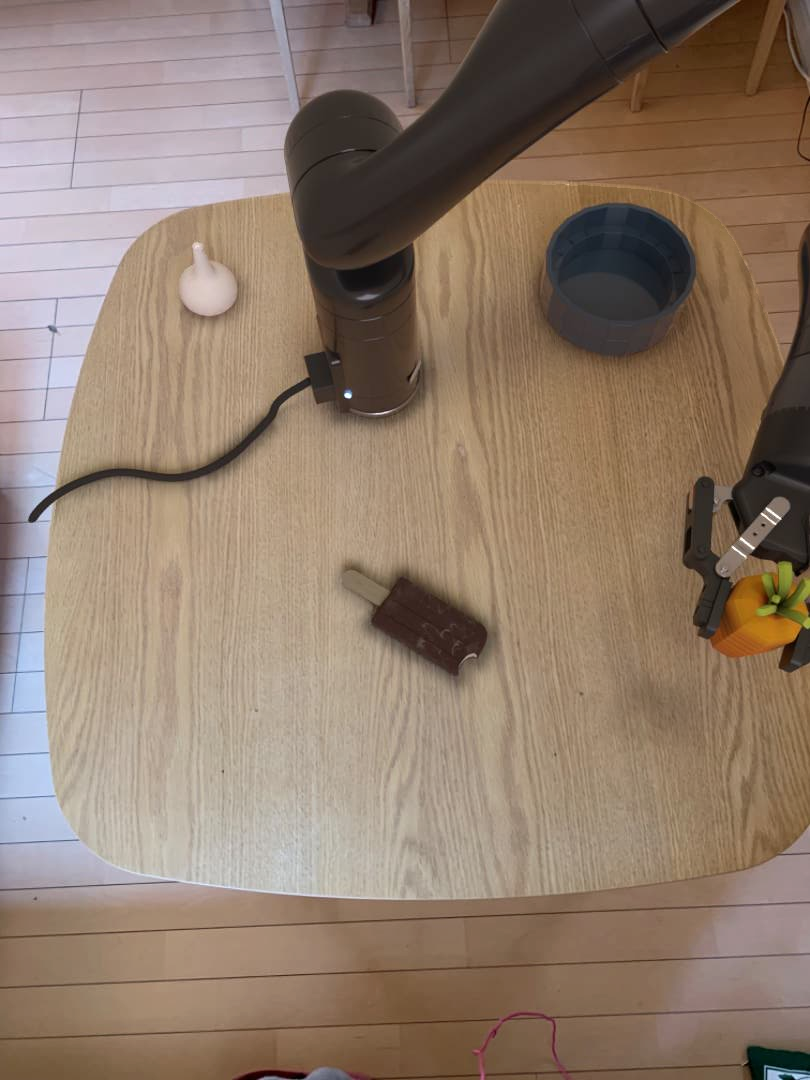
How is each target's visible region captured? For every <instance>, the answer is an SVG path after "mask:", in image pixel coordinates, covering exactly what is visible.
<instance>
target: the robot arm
mask: <svg viewBox="0 0 810 1080" xmlns="http://www.w3.org/2000/svg"><path fill="white" fill-rule="evenodd" d="M739 2H741V0H497V1H496V3H495V4H494V6H493V8H492V10H491V11H490V13H489V14H488V16H487V18H486V19H485V22H484V23H483V25H482V27H481V28H480V30H479V31H478V34H477V35H476V37H475V39H474V41H472V44H471V46H470V47H469V50H468V51H467V53H466V55H465V56H464V58H463V60H462V61H461V63H460V65H459V67H458V68H457V69H456V71H455V73H454V75H453V76H452V78H451V79H450V81H449V82H448V84H447V85H446V86H445V87H444V88H443V91H442V92H441V93H440V95H439V96H437V98H436V99H435V100H434V101H433V102H432V103H431V104H430V106H429V107H428V108H427V109H426V110H425V111H424V112H423V113H421V115H419V116H418V117H417V118H416V119H415V120H414V121H413V122H411V123H410V124H409V125H408V126H407V127H405V128H403V125H402V123H401V122H400V121H401V120H400V119H399V117H398V116H397V115H396V113H395V112H394V110H393V109H392V108H390V106H389V105H387V103H386V102H384V101H383V100H382V99H380V98H379V97H377V96H375V95H373V94H371V93H369V92H366V91H363V90H358V89H352V88H341V89H334V90H329V91H327V92H323V93H321V94H319V95H317V96H316V97H314V98H312V99H311V100H309V101H308V102H306V103H305V104H304V105H303V106H302V107H300V109H299V110H298V112H296V114H295V115H294V117H293V119H292V120H291V122H290V124H289V125H288V128H287V131H286V134H285V138H284V142H283V143H284V144H283V158H284V164H285V165H284V166H285V171H286V176H287V177H286V178H287V182H288V188H289V189H288V190H289V195H290V201H291V206H292V213H293V218H294V223H295V227H296V231H297V234H298V237H299V240H300V242H301V247H302V251H303V258H304V263H305V268H306V272H307V276H308V280H309V286H310V289H311V293H312V298H313V302H314V307H315V312H316V315H315V318H316V321H317V326H318V327H317V328H318V331H319V337H320V341H321V345H322V349H323V351H319V352H318V351H317V352H314V353H310V354H306V355H303V358H304V363H305V366H306V370H307V374H308V376H307V377H306V378H304V379H302V380H300V381H299V382H297V383H296V384H294V385H292V386H290V387H289V388H287V389H286V390H284V391H283V392H282V393H280V394H279V395H278V396H277V397H276V398H275V399H274V400H273V401H272V403H271V404H270V407H269V410H268V412H267V414H266V415H265V417H264V418H263V419H262V420H260V422H259V423H258V424H257V425H256V426H255V428H254V429H253V430H252V431H251V432H249V434H248V435H247V436H245V438H244V439H242V441H240V442H239V444H237V446H235V447H234V448H233V449H232V450H230V451H229V452H227V453H226V454H224V455H223V456H222V457H219V458H218V459H215V461H212V462H210V463H209V464H206V465H204V466H202V467H199V468H196V469H193V470H190V471H186V472H179V473H163V472H155V471H150V470H143V469H137V468H128V467H116V468H107V469H103V470H99V471H95V472H92V473H88V474H86V475H83V476H80V477H78V478H76V479H73V480H71V481H70V482H68V483H65V484H63V485H62V486H60V487H58V488H56V489H55V490H54V491H52V492H51V493H49V494H48V495H47V496H45V497H44V498H43V499H42V500H41V501H40V502H39V503H38V504H37V505H36V506H35V507H34V508H33V509H32V511H31V512H30V513H29V515H28V517H27V518H28V519H27V522H28V523H29V524H33V523H35V522H36V521H38V520H39V518H40V516H41V515H42V514H43V513H44V512H45V511H46V510H47V509H48V508H49V507H50V506H51V505H52V504H54V503H55V502H57V501H58V500H59V499H61V498H62V497H63V496H65V495H67V494H68V493H70V492H72V491H74V490H76V489H79V488H81V487H83V486H86V485H89V484H92V483H94V482H97V481H100V480H104V479H108V478H116V477H127V478H128V477H129V478H139V479H145V480H150V481H156V482H163V483H164V482H165V483H180V482H186V481H191V480H195V479H198V478H201V477H204V476H206V475H208V474H211V473H213V472H216V471H217V470H219V469H221V468H223V467H224V466H226V465H228V464H229V463H231V462H232V461H233V460H235V459H236V458H238V456H239V455H241V454H242V453H243V452H245V450H246V449H247V448H248V447H249V446H250V445H251V444H252V443H253V442H254V441H255V440H257V439H258V438H259V436H260V435H261V434H262V433H264V431H265V430H266V429H267V428H268V426H270V425H271V423H272V422H273V421H274V420H275V419H276V417H277V415H278V412H279V410H280V408H281V406H282V405H283V404H284V403H285V402H286V401H287V400H289V399H290V398H291V397H293V396H295V395H296V394H298V393H300V392H302V391H304V390H305V389H307V388H309V387H311V391H312V394H313V397H314V401H315V405H321V404H324V403H329V402H334V401H335V402H336V406H337V409H338V412H339V413H340V414H346V413H351V414H354V415H357V416H359V417H363V418H368V419H369V418H370V419H378V418H385V417H389V416H393V415H394V414H396V413H398V412H400V411H402V410H404V409H405V408H406V407H407V406H408V405H410V403H411V402H412V401H413V400H414V398H415V397H416V394H417V393H418V391H419V388H420V380H421V371H420V367H421V365H422V359H421V358H420V359H419V336H418V309H417V277H416V274H417V273H416V271H417V270H416V250H415V244H414V241H416V240H417V239H418V238H420V237H421V236H422V235H423V234H424V233H426V232H427V231H428V230H429V229H430V228H432V227H433V226H434V225H435V224H436V223H438V222H439V221H440V220H441V219H442V218H443V217H444V216H446V215H447V214H448V213H449V212H450V211H452V210H453V209H454V208H455V207H457V205H459V204H460V203H461V202H462V201H463V200H464V199H466V198H467V197H468V196H469V195H470V194H472V193H473V192H474V191H475V190H476V189H477V188H478V187H480V186H481V185H482V184H484V183H485V182H486V181H487V180H489V179H490V178H492V177H493V176H494V175H495V174H496V173H497V172H498V171H500V170H501V169H502V168H504V167H505V166H506V165H508V164H509V163H510V162H511V161H513V160H514V159H516V158H517V157H518V156H520V155H521V154H523V153H524V152H525V151H527V150H528V149H529V148H531V147H533V145H535V144H536V143H538V142H539V141H540V140H542V139H543V138H545V137H546V136H547V135H549V134H550V133H551V132H553V131H554V130H556V129H557V128H558V127H560V126H561V125H563V124H564V123H565V122H567V121H568V120H569V119H571V118H572V117H574V116H575V115H577V114H578V113H579V112H581V111H583V110H584V109H585V108H587V107H589V106H590V105H592V104H593V103H595V102H596V101H598V100H599V99H601V98H602V97H604V96H605V95H607V94H609V93H610V92H612V91H614V90H615V89H617V88H618V87H620V86H621V85H623V84H624V83H626V82H628V81H629V80H631V79H633V77H635V76H636V75H638V74H639V73H641V72H642V71H643V70H645V69H647V68H648V67H649V66H651V65H653V64H654V63H655V62H656V61H658V60H659V59H661V58H662V57H664V56H665V55H667V54H668V52H671V51H672V50H674V49H676V47H678V46H680V45H681V44H682V43H683V42H685V41H686V40H687V39H689V38H690V37H692V36H693V35H694V34H695V33H697V32H698V31H699V30H701V29H702V28H703V27H704V26H706V25H707V24H709V23H710V22H712V21H714V20H715V19H716V18H718V17H719V16H720V15H722V14H723V13H724V12H726V11H727V10H729V9H730V8H732V7H733V6H735V5H736V4H737V3H739ZM796 269H797V283H798V284H797V285H798V297H799V298H798V300H799V301H798V307H799V308H798V314H797V315H798V316H797V320H796V321H797V322H796V325H795V330H794V334H793V337H792V341H791V344H790V347H789V350H788V352H787V355H786V358H785V362H784V365H783V367H782V370H781V372H780V374H779V377H778V379H777V380H776V383H775V385H774V387H773V388H772V390H771V393H770V395H769V398H768V400H767V403H766V405H765V407H764V408H763V410H762V412H761V415H760V418H759V419H760V423H759V426H758V429H757V432H756V434H755V438H754V442H753V444H752V447H751V450H750V453H749V456H748V459H747V461H746V465H745V467H744V470H743V474H742V476H741V478H740V480H739V481H738V482H736V483H735V484H734V485H733V486H728V485H722V484H715V481H714V479H712V478H711V477H709V476H707V475H703V476H700V477H698V478H697V480H696V481H695V483H693V486H692V487H691V488H690V489H689V491H688V492H687V494H686V501H685V514H684V517H685V518H684V531H683V544H682V560H681V561H682V564H683V566H684V567H685V568H687V569H688V570H694V571H695V572H696V573H698V575H700V577H701V578H702V583H703V584H702V588H701V590H700V591H701V592H700V594H699V597H698V600H697V601H696V605H695V608H694V612H693V615H692V625H693V626H695V627H698V630H697V632H696V633H697V634H696V636H698V637H700V638H702V639H704V640H706V641H707V640H710V638H711V637H712V636H714V635H715V633H716V631H717V629H718V627H719V624H720V621H721V618H722V615H723V612H724V609H725V606H726V602H727V599H728V596H729V593H730V590H731V588H732V587H733V584H734V582H732V581H730V580H731V577H732V575H733V574H735V572H736V571H737V570H738V569H739V568H740V567H741V565H743V563H745V561H746V559H748V557H749V556H751V557H752V558H756V559H757V560H758V559H759V560H762V561H771V562H773V563H775V564H776V565H778V562H783V561H786V562H791V565H792V572H793V577H792V583H794V584H795V585H797V586H798V585H799V583H800V581H801V580H802V578H805V577H807V578H809V579H810V222H808V224H807V225H806V227H805V228H804V230H803V232H802V234H801V237H800V240H799V244H798V250H797V268H796ZM723 505H727V507H728V510H729V512H730V515H731V518H732V520H733V523H734V526H735V529H736V532H737V534H738V537H737V538H735V540H734V541H733V542H732V543H731V544H730V546H728V548H727V549H726V550H725V551H724V552H723V554H722V555H721V556H718V555H717V554H716V553H715V552H713V551H712V536H713V518H714V516H716V515H717V514H718V513H719V512H720V510H721V509H722V508H723ZM804 601H805V604H806V607H807V610H808V613H809V614H808V617H809V618H810V594H809V595H808V596H807V598H806V599H805V600H804ZM809 664H810V628H809V629H807V628H805V627H803V626H802V627H801V629H800V631H799V633H798V635H797V637H796V638H795V640H794V641H793V642H790V643H788V644H786V645H784V646H783V649H782V653H781V656H780V659H779V662H778V670H781V671H783V672H787V673H789V674H791V673H793V672H795V671H797V670H799V669H801V668H802V667H805V666H806V665H809Z"/></svg>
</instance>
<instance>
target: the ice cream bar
mask: <svg viewBox="0 0 810 1080" xmlns="http://www.w3.org/2000/svg"><path fill="white" fill-rule="evenodd" d="M341 580H342V583H343V585H344V586H345V587H346V588H348V589H349V590H351V591H353V592H354V593H356V594H357V595H359V596H361V597H362V598H364V599H366V600H367V601H369V602H370V603H372V604H374V605H376V606H377V607H378V608H377V609H376V610H375V612H374V615H373V616H372V618H371V619H370V623H371V626H374V627H375V628H376V629H378V630H380V631H381V632H383V633H385V634H387V635H388V636H390V637H391V638H393V639H395V640H396V641H398V642H399V643H401V644H402V645H404V646H406V647H407V648H409V649H410V650H411V651H413V652H416V653H417V654H419V655H421V656H422V657H423V658H425V659H427V660H428V661H430V662H432V663H433V664H435V665H436V666H438V667H440V668H442V669H443V670H445V671H446V672H448V673H450V674H451V675H453V676H455V677H457V676H458V675H459V673H460V671H459V670H460V668H461V667H462V665H463V664H464V662H465V661H466V660H468V659H470V658H475V659H478V658H479V657H480V655H481V653H482V651H483V650H484V648H485V647H486V643H487V640H488V631H487V629H486V627H485V626H484V625H483V623H481V622H479V621H478V620H476V619H474V618H472V617H470V616H469V615H467V614H465V613H464V612H462V611H460V610H459V609H457V608H455V607H454V606H452V605H451V604H448V603H447V602H445V601H444V600H442V599H440V598H439V597H437V596H436V595H434V594H432V593H430V592H429V591H427V590H425V589H423V588H422V587H420V586H418V585H417V584H415V583H413V582H412V581H410V580H409V579H407V578H405V577H403V576H402V575H401V576H399V578H398V579H397V581H395V583H394V585H393V586H392V589H391V590H388V589H387V588H385V587H383V586H381V585H380V584H378V583H377V582H375V581H373V580H372V579H370V578H368V577H366V576H365V575H363V574H361V573H360V572H358V571H356V570H354V569H349V570H346V571H345V572H344V573H343V574H342V578H341Z"/></svg>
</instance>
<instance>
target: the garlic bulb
mask: <svg viewBox="0 0 810 1080" xmlns="http://www.w3.org/2000/svg"><path fill="white" fill-rule="evenodd" d="M191 248H192V255H193V256H192V258H193V263H192V264H190V265H188V267H185V269H184V271H183V272H182V273H181V275H180V278H179V280H178V293H179V297H180V299H181V301H182V303H183V305H185V307H186V308H187V309H189V310H190V311H191V312H193V313H194V314H197V315H200V316H204V317H214V316H218V315H220V314H223V313H225V312H227V311H228V310H229V309H230V308H232V306H233V305H234V303H235V302H236V300H237V297H238V283H237V279H236V277H235V275H234V273H233V272H232V271H231V269H230V268H228V267H227V266H226V265H224V264H223V263H221V262H219V261H215V260H210V259H209V256H208V255H207V252H206V251H205V248H204V244H203V243H202V242H201V241H200V242H199V241H195V242H193V243H192V246H191Z"/></svg>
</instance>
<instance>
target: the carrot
mask: <svg viewBox="0 0 810 1080" xmlns="http://www.w3.org/2000/svg"><path fill="white" fill-rule="evenodd" d="M792 577H793V572H792V565H791V562H786V561H783V562H778V564H777V573H776V572H774V571H770V572H767V571H765V572H762V573H759V574H754V575H749V576H743V577H741V578H739V580H738V581H737V582H736V583H735V584H734V585H732V587H731V590H730V593H729V596H728V599H727V602H726V606H725V609H724V612H723V615H722V618H721V621H720V624H719V627H718V629H717V631H716V633H715V635H714V636H712V637H711V638H710V639H709V641H710V642H709V643H710V645H711V648H712V649H714V650H716V651H717V652H718V653H720V654H722V655H724V656H725V657H728V658H730V659H736V658H738V659H739V658H744V657H750V656H754V655H760V654H764V653H770V652H773V651H775V650H778V649H780V648H782V647H784V646H785V645H786V644H788V643H790V642H793V641H794V640H795V638H796V637H797V635H798V633H799V631H800V629H801V627H802V626H803V627H805V628H807V629H809V628H810V618H809V617H808V614H809V613H808V610H807V607H806V604H805V601H804V600H805V599H806V598H807V596H808V595H809V594H810V579H809V578H807V577H805V578H802V580H801V581H800V583H799V585H798V586H797V585H795V584H794V583H792Z"/></svg>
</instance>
